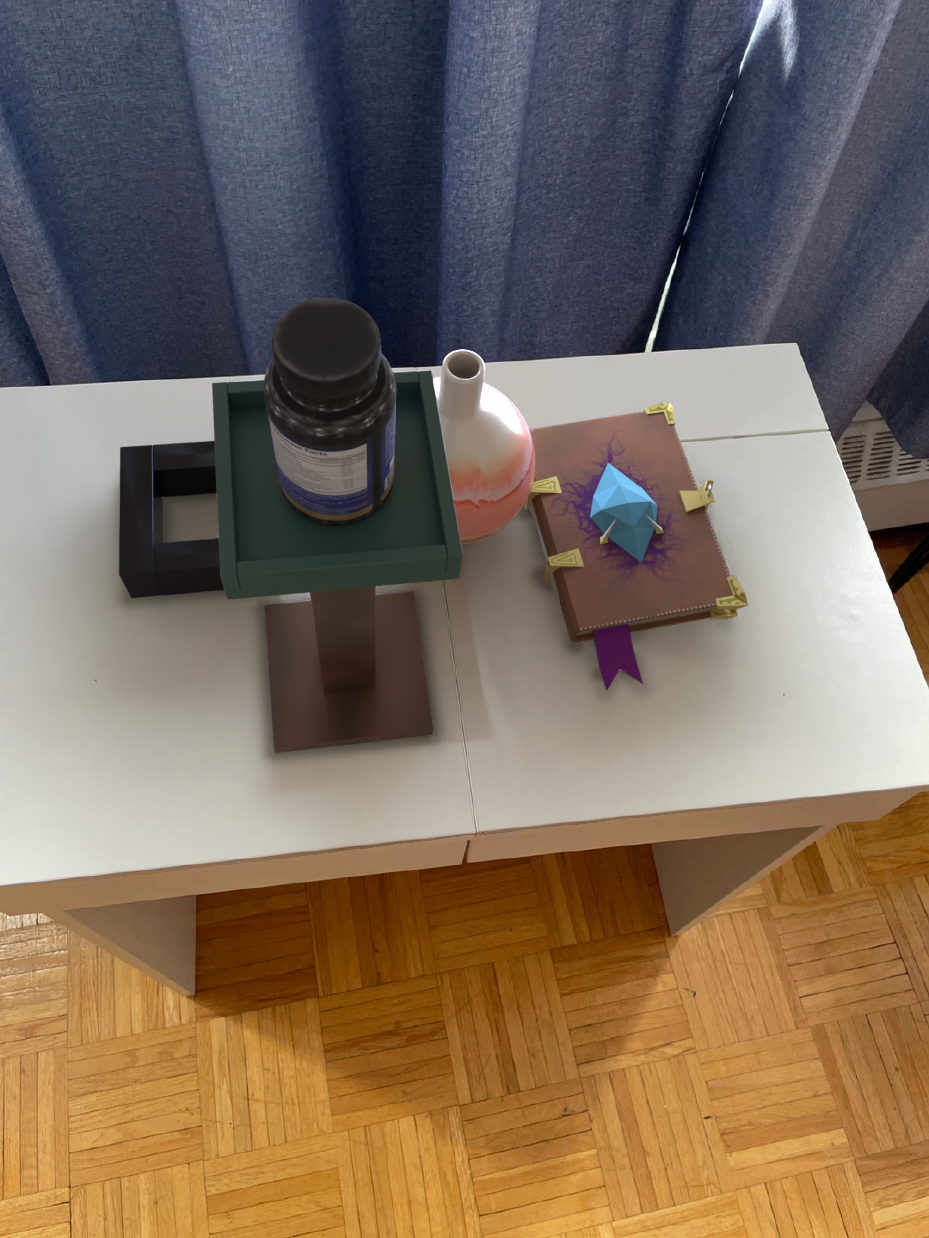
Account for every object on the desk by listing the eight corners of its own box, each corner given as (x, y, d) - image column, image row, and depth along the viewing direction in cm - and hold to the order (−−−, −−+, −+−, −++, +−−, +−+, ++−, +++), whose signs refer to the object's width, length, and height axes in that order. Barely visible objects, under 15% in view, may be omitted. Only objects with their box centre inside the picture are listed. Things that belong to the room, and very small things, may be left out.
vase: (498, 426, 86) (526, 280, 70) (544, 552, 80) (586, 425, 64) (351, 453, 83) (346, 307, 67) (389, 585, 78) (393, 461, 62)
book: (577, 701, 75) (586, 678, 71) (507, 451, 85) (511, 417, 81) (767, 664, 77) (788, 640, 73) (677, 424, 87) (690, 389, 83)
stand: (275, 752, 71) (227, 600, 48) (266, 611, 76) (218, 411, 53) (432, 734, 72) (459, 579, 49) (413, 597, 77) (429, 398, 54)
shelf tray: (227, 600, 48) (220, 577, 45) (218, 411, 53) (211, 382, 50) (459, 579, 49) (463, 555, 47) (429, 398, 54) (432, 369, 52)
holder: (130, 598, 75) (118, 575, 71) (131, 474, 80) (119, 446, 76) (282, 585, 77) (277, 561, 73) (273, 464, 82) (268, 436, 78)
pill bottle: (333, 416, 52) (323, 262, 42) (417, 477, 51) (427, 333, 41) (254, 485, 50) (224, 339, 40) (341, 551, 48) (331, 418, 38)
